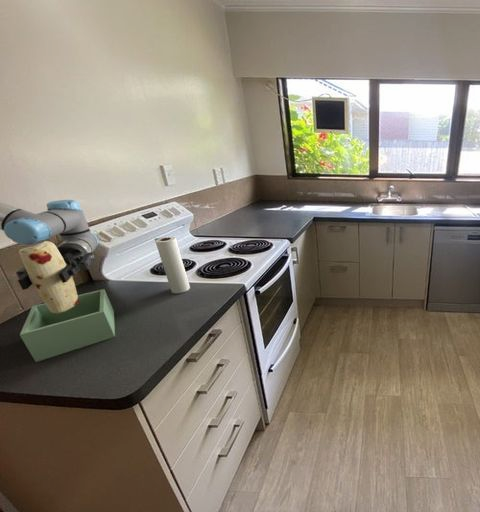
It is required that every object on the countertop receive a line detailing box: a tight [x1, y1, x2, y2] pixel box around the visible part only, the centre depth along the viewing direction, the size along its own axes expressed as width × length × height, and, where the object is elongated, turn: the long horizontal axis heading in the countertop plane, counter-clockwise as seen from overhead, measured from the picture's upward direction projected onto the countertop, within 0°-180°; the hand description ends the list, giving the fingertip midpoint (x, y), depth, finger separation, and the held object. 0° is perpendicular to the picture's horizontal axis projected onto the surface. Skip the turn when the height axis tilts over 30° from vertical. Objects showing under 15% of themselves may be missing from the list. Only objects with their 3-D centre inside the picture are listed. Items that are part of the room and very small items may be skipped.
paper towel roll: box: [154, 236, 191, 294], centre depth 109 cm, size 7×6×21 cm
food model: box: [18, 240, 79, 314], centre depth 80 cm, size 10×7×20 cm
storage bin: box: [19, 288, 116, 363], centre depth 86 cm, size 18×16×9 cm
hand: (43, 281), depth 76 cm, fingers closed on food model, 7 cm apart
